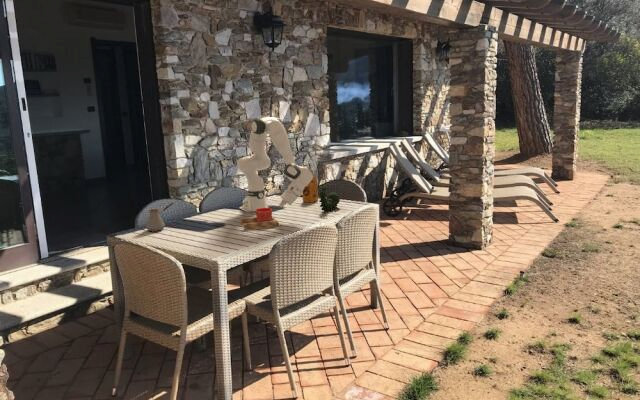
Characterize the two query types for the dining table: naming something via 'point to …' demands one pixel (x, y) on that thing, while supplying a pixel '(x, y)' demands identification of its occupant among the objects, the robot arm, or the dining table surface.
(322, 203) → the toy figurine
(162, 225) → the coffee pot
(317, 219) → the dining table surface
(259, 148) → the robot arm
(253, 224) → the brown wooden u-shaped frame
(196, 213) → the dining table surface
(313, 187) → the coffee package
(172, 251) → the dining table surface
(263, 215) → the flower pot
